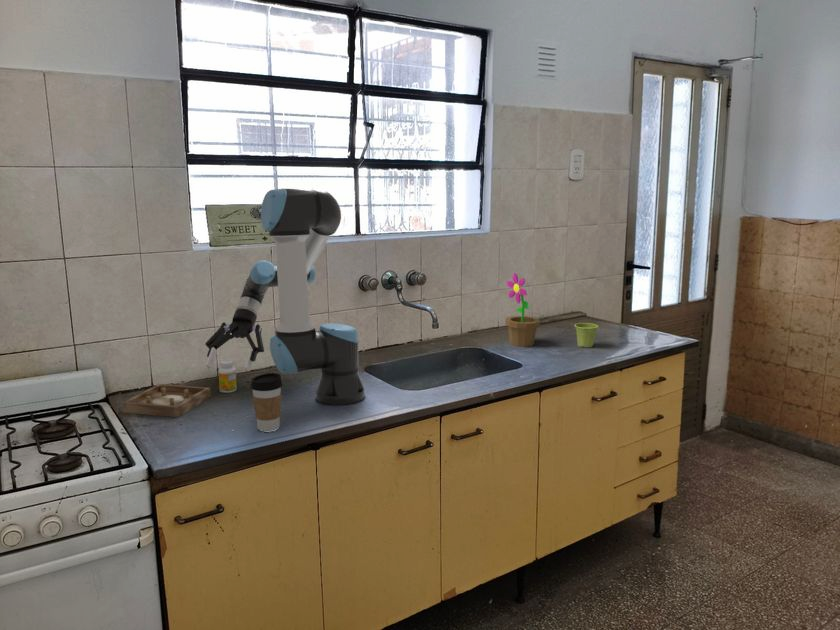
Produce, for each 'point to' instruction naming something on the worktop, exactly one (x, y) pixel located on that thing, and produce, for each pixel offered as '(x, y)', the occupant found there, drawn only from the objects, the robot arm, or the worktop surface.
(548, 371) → the worktop surface
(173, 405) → the pin tray
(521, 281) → the flowerpot
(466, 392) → the worktop surface
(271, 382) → the coffee cup
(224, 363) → the supplement bottle
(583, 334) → the plant pot
